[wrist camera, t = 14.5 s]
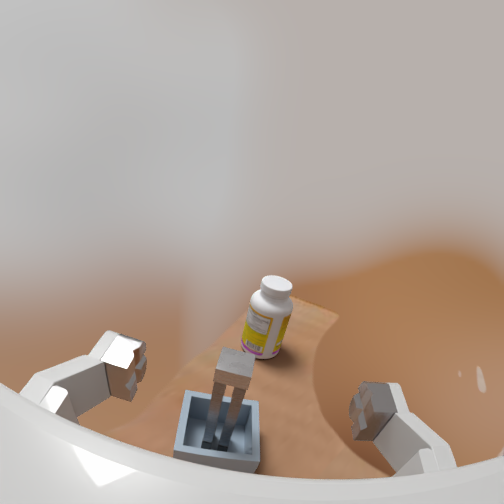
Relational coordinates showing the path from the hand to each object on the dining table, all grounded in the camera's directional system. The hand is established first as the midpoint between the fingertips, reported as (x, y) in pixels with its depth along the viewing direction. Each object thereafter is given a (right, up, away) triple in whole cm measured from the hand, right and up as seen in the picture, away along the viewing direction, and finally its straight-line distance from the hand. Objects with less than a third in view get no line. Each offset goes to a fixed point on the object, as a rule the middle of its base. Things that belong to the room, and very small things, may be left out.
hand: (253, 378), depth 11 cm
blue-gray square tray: (-5, -19, +21) cm, 28 cm away
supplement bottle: (+1, -12, +41) cm, 42 cm away
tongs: (-4, -18, +20) cm, 27 cm away
